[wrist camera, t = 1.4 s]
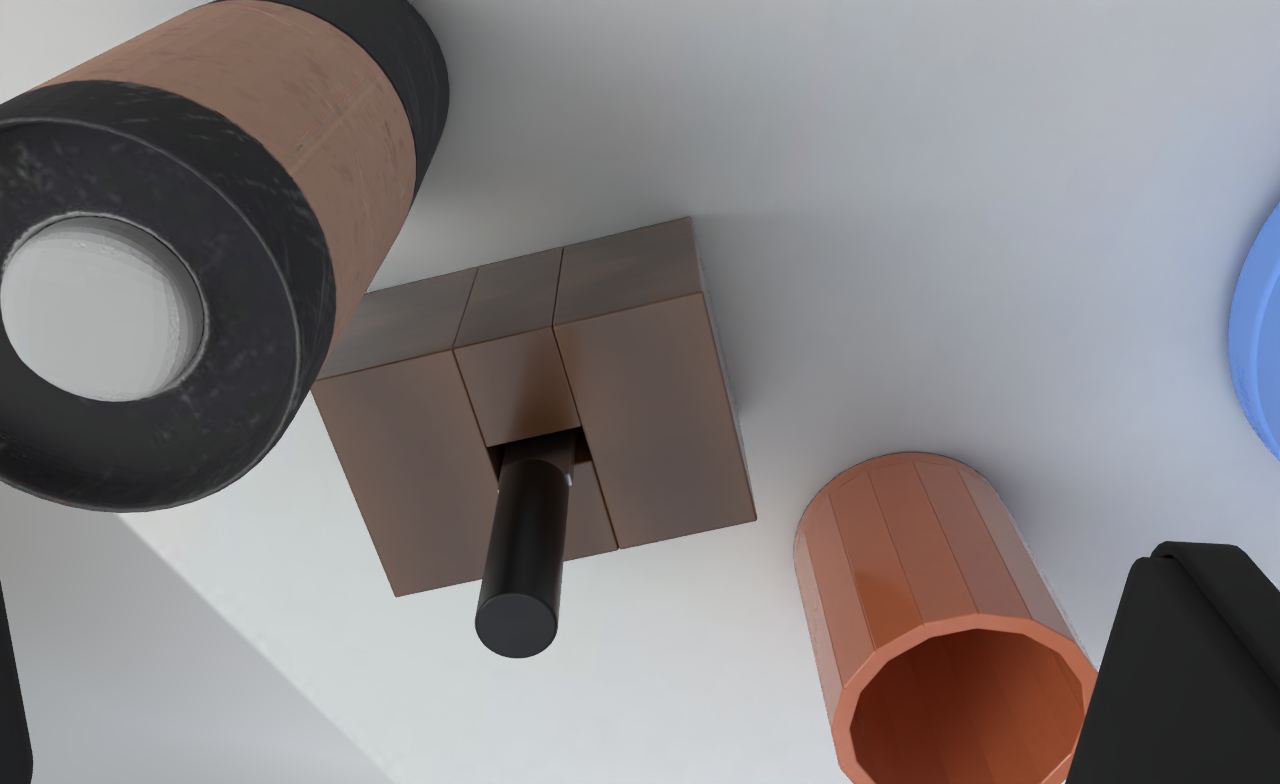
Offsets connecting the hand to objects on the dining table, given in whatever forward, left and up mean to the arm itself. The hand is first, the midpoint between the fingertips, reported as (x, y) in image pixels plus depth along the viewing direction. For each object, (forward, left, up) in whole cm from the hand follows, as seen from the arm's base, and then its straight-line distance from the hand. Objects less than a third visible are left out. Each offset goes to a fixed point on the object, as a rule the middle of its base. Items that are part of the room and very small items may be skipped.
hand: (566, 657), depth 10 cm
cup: (-6, +21, -31) cm, 38 cm away
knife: (+5, +10, -31) cm, 33 cm away
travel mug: (+9, -1, -31) cm, 32 cm away
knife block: (+5, +10, -31) cm, 33 cm away
